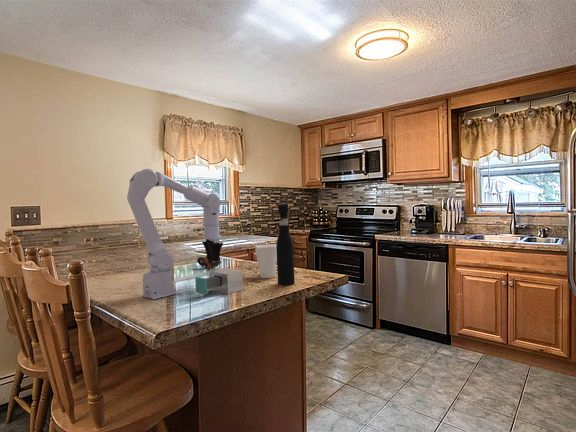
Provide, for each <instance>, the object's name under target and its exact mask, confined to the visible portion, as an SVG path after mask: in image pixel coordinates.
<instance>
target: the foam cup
mask: <svg viewBox="0 0 576 432" xmlns="http://www.w3.org/2000/svg"><path fill="white" fill-rule="evenodd" d="M276 245H277V244H271V243H270V244H268V243H267V244H258V245H255V247H254V249H255V251H254V252H255V255H256V260H257V265H258V272H259V276H260V278H262V279H270V278H275V277H276V273H277V250H276Z"/></svg>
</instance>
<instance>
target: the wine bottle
mask: <svg viewBox="0 0 576 432" xmlns="http://www.w3.org/2000/svg"><path fill="white" fill-rule="evenodd" d="M277 211H278V212H277V214H279V215H280V218H279V225H278V234H277V235H278V236H277V240H276V244H275V245H276V250H277V262H276V273H277V284H278V286H283V287H284V286H285V287H286V286H292V285H295V261H294V259H295V258H294V244H293V239H292V236H291V234H290V225H289V221H288V220H287V219H288V214H289V204H278V205H277Z"/></svg>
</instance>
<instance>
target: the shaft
mask: <svg viewBox="0 0 576 432" xmlns="http://www.w3.org/2000/svg"><path fill="white" fill-rule="evenodd" d="M218 286H222V276H215V277H211V278H209V277H208V278H205V277H200V276H196V277H195V293H199V294H203V295H206V294H208V290H210V289H211V288H215V287H218Z"/></svg>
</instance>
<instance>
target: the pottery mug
mask: <svg viewBox="0 0 576 432" xmlns="http://www.w3.org/2000/svg"><path fill="white" fill-rule="evenodd" d="M220 256H221V255H219V260H218V261H215V262H213V261H212V259H208V258H207V254H206V255H205V257H203V256H199V257H198V258H197V260H196V261H197V264H198V265H200V266H201V267H202V268H204V269H206V270H207V271H211V269H214V268H217V267H219V266H220V265H221V264H223V263H222V260H221V257H220Z"/></svg>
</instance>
